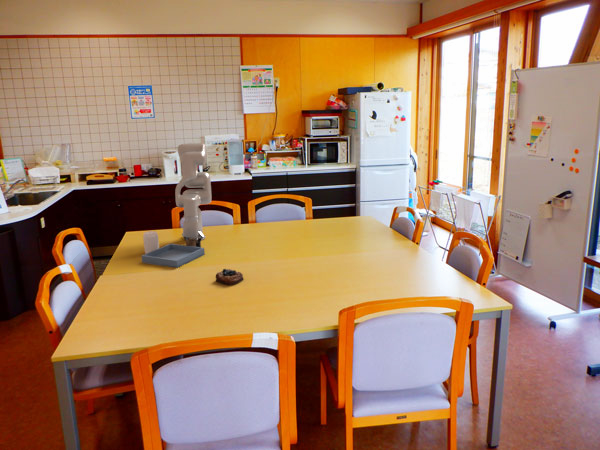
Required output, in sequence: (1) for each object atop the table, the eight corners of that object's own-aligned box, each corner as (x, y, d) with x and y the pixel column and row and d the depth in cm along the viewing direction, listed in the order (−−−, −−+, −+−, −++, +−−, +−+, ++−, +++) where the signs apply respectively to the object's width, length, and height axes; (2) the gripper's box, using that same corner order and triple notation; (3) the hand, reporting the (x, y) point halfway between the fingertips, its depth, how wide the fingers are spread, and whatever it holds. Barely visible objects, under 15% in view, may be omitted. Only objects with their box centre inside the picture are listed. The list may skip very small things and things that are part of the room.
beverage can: (142, 253, 274) (139, 233, 271) (152, 249, 281) (150, 230, 278) (152, 255, 271) (150, 235, 268) (162, 251, 278) (160, 231, 274)
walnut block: (186, 249, 279) (185, 240, 278) (192, 247, 284) (192, 237, 283) (194, 251, 277) (194, 241, 275) (201, 248, 282) (200, 238, 280)
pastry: (229, 275, 238) (228, 264, 236) (246, 280, 231) (246, 269, 229) (212, 282, 230) (212, 270, 228) (230, 287, 222) (229, 275, 221)
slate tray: (142, 262, 259) (141, 255, 258) (171, 250, 280) (170, 243, 279) (177, 268, 249) (176, 260, 248) (204, 254, 270) (204, 247, 269)
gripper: (175, 218, 276) (177, 248, 281) (199, 221, 269) (202, 251, 274) (183, 215, 282) (185, 244, 287) (207, 218, 275) (209, 247, 280)
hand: (193, 247), depth 280 cm, fingers closed on walnut block, 6 cm apart
